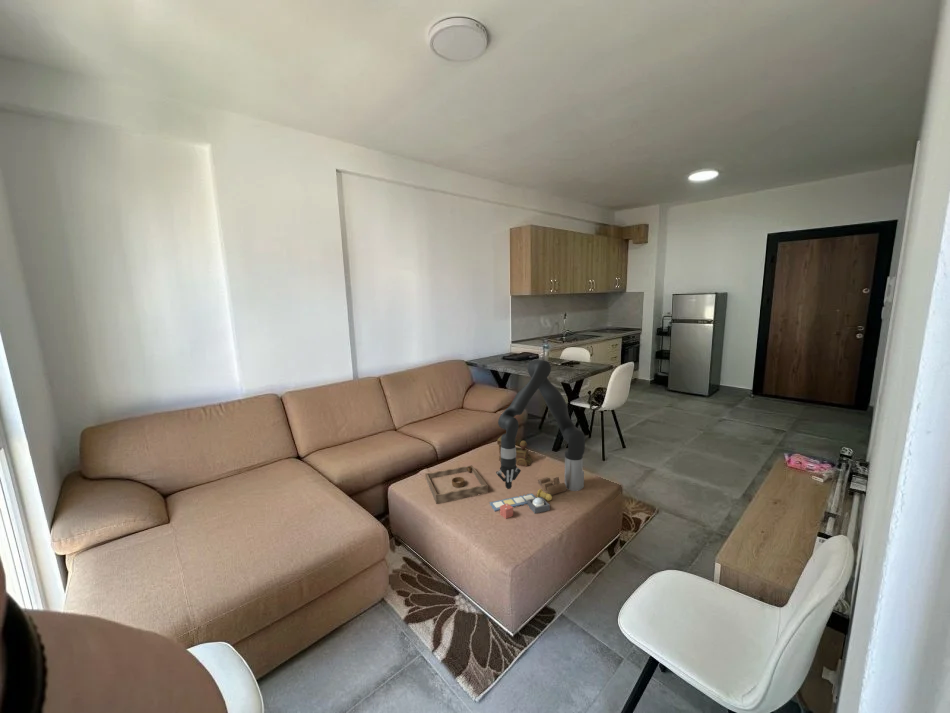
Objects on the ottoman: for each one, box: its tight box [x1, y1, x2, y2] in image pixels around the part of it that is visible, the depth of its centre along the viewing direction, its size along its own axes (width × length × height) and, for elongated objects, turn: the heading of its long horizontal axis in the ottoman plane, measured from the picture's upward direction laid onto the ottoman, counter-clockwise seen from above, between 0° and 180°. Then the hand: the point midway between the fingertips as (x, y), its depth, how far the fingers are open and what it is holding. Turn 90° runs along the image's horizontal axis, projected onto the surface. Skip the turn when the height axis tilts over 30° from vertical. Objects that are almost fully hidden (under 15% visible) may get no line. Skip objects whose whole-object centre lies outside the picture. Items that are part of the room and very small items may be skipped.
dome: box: [533, 497, 544, 507], centre depth 185 cm, size 6×6×5 cm
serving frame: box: [424, 465, 489, 505], centre depth 207 cm, size 28×26×5 cm
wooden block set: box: [537, 476, 568, 496], centre depth 201 cm, size 18×9×10 cm
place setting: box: [451, 465, 472, 489], centre depth 210 cm, size 18×20×6 cm
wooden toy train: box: [496, 435, 533, 468], centre depth 233 cm, size 20×11×17 cm, turn 66°
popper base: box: [527, 497, 551, 514], centre depth 185 cm, size 8×8×3 cm
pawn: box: [536, 488, 553, 502], centre depth 193 cm, size 4×4×7 cm
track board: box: [489, 492, 537, 512], centre depth 190 cm, size 24×8×1 cm, turn 109°
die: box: [499, 504, 514, 520], centre depth 180 cm, size 4×4×4 cm
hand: (508, 488), depth 188 cm, fingers closed
